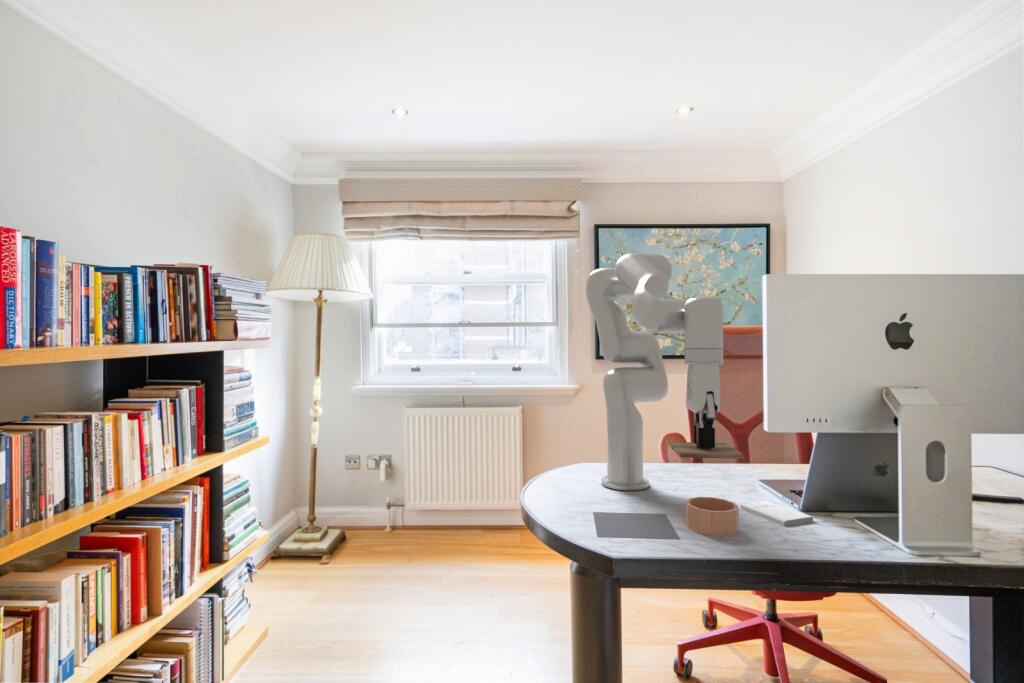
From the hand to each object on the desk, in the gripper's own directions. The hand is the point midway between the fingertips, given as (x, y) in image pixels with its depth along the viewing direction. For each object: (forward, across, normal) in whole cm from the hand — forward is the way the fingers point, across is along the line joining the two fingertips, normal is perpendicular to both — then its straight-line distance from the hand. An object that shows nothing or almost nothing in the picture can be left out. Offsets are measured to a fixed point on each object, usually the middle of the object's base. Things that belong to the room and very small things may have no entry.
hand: (704, 444), depth 110 cm
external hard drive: (+18, -10, +18) cm, 27 cm away
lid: (+1, 0, 0) cm, 1 cm away
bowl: (+17, 0, +1) cm, 17 cm away
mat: (+17, 0, -15) cm, 23 cm away
